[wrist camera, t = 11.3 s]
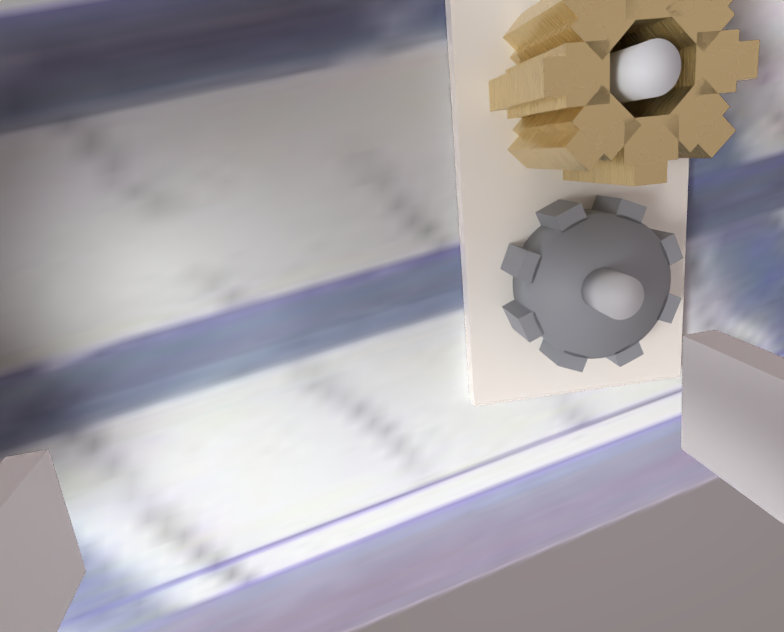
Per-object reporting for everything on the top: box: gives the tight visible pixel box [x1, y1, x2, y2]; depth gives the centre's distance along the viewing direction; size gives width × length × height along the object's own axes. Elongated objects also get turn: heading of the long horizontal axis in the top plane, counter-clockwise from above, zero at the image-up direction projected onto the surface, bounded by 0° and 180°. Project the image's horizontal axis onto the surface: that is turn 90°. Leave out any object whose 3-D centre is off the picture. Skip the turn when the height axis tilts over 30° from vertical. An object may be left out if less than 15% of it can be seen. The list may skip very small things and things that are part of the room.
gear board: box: [445, 0, 689, 406], centre depth 32 cm, size 14×26×9 cm, turn 5°
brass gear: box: [489, 0, 760, 186], centre depth 30 cm, size 10×10×8 cm
